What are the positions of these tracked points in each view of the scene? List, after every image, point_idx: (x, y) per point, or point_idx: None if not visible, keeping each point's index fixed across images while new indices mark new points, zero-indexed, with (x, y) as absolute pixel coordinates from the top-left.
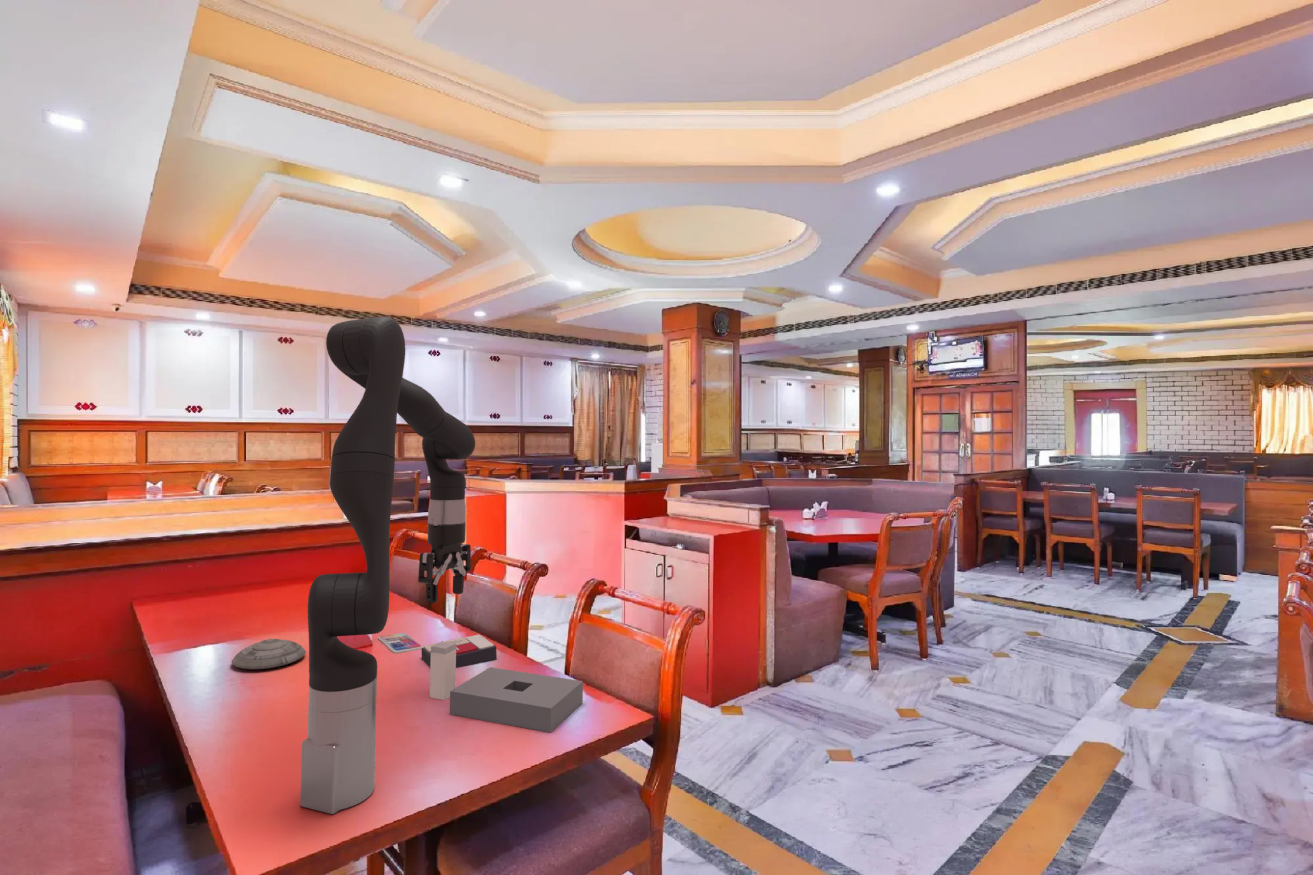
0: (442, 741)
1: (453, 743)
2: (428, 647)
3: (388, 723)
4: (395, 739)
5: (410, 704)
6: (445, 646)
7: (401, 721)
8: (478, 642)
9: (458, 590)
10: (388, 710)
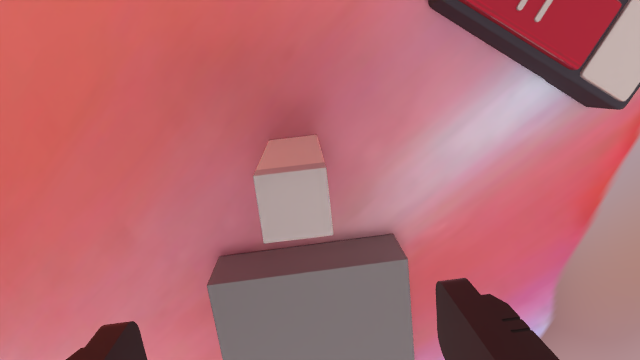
0: None
1: None
2: None
3: (100, 169)
4: (58, 246)
5: (208, 129)
6: (283, 225)
7: (126, 188)
8: (636, 26)
9: (448, 340)
10: (149, 107)
